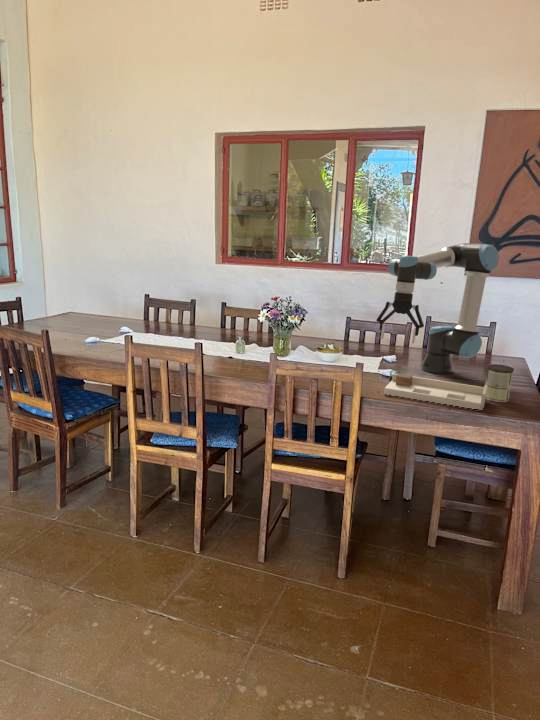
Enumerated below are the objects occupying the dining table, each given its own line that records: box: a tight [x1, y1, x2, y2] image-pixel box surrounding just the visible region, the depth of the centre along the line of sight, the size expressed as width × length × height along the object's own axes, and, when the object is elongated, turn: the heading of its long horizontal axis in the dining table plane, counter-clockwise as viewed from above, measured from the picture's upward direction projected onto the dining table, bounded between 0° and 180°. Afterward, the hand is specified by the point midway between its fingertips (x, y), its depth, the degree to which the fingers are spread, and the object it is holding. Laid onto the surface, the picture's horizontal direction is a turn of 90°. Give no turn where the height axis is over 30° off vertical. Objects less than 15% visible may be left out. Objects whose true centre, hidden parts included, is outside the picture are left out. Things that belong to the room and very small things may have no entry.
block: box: [396, 372, 413, 387], centre depth 231 cm, size 5×6×4 cm
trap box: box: [383, 373, 488, 411], centre depth 224 cm, size 15×40×7 cm, turn 65°
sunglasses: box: [388, 369, 408, 382], centre depth 245 cm, size 14×15×5 cm
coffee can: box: [485, 364, 515, 403], centre depth 225 cm, size 10×10×14 cm
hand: (397, 340), depth 230 cm, fingers open, 13 cm apart
